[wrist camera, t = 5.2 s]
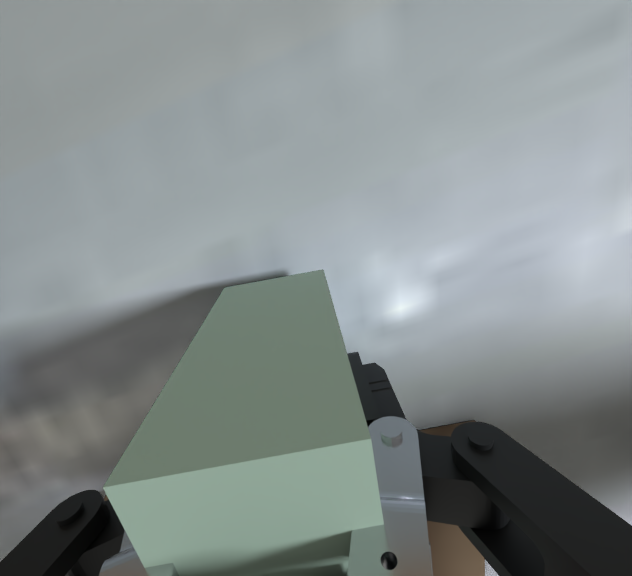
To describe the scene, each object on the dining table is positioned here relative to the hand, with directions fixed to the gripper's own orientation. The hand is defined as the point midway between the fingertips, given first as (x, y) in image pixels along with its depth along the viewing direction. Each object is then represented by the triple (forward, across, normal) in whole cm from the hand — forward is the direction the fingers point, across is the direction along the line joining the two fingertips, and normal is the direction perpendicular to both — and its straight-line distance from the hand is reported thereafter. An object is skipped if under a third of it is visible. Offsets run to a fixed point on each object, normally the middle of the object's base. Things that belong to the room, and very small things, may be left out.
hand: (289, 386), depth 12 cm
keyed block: (+2, 0, 0) cm, 2 cm away
